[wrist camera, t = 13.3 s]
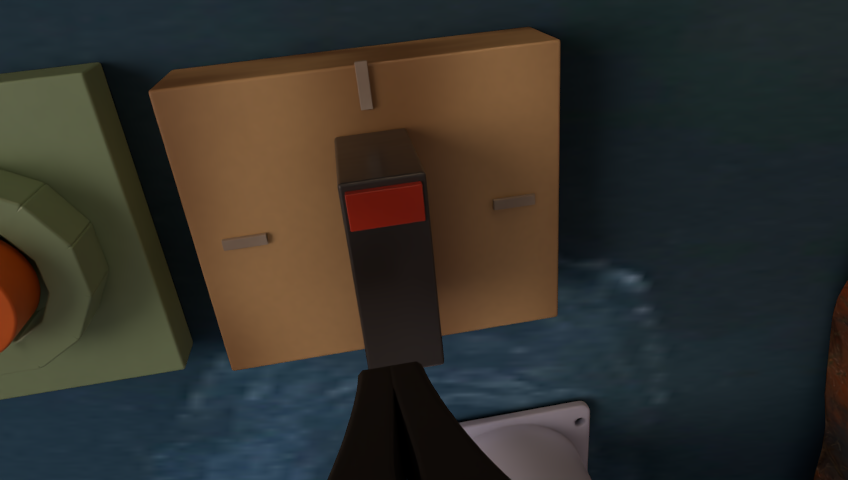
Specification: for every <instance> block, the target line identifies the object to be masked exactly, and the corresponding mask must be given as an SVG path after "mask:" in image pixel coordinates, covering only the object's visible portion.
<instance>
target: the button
mask: <svg viewBox="0 0 848 480" xmlns="http://www.w3.org/2000/svg"><path fill="white" fill-rule="evenodd" d="M39 301H40V284H39V279H38V277H37V274H36V272H35V270H34V268H33V267H32V265H31V264H30V263H29V261H28V260H27V259H26V258H25V257H24V256H23V255H22V254H21V253H20V252H19V251H18V250H16V249H15V248H14V247H12V246H11V245H9V244H7V243H6V242H4V241H2V240H0V353H1V352H3V351H4V350H5V349H6V348H7V347H8V346H9V345H10V344H11V342H12V341H13V340H14V338H15V337H16V336H17V335H18V333H19V332H20V331H21V329H22V328H23V327H24V325H25V324H26V323H27V321H28V320H29V319H30V317H31V316H32V315H33V314H34V312H35V310H36V309H37V307H38V304H39Z"/></svg>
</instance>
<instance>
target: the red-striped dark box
mask: <svg viewBox="0 0 848 480" xmlns="http://www.w3.org/2000/svg"><path fill="white" fill-rule="evenodd" d="M334 144H335V159H336V174H337V188H338V194H339V200H340V206H341V211H342V217H343V223H344V229H345V235H346V241H347V247H348V252H349V258H350V264H351V270H352V276H353V282H354V288H355V293H356V299H357V305H358V311H359V317H360V323H361V328H362V334H363V340H364V346H365V352H366V358H367V364H368V369H374V368H380V367H386V366H391V365H397V364H403V363H409V362H415V361H417V362H419V363H420V364H422V366H423V368H424V367H429V366H435V365H441V364H443V363H444V354H443V344H442V333H441V323H440V313H439V303H438V292H437V282H436V272H435V261H434V251H433V241H432V231H431V220H430V210H429V200H428V189H427V179H426V173H425V171H424V169H423V166H422V164H421V162H420V160H419V157H418V155H417V153H416V151H415V148H414V146H413V144H412V142H411V139H410V137H409V135H408V133H407V130H406V129H405V128H401V129H394V130H386V131H379V132H372V133H364V134H357V135H349V136H342V137H336V138H335V140H334Z"/></svg>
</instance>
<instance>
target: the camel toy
mask: <svg viewBox="0 0 848 480" xmlns="http://www.w3.org/2000/svg"><path fill="white" fill-rule="evenodd" d="M813 480H848V281H847V282H846V284H845V285H844V287H843V289H842V291H841V293H840V294H839V296H838V299H837V302H836V305H835V308H834V312H833V318H832V325H831V335H830V346H829V356H828V365H827V374H826V388H825V433H824V439H823V445H822V450H821V455H820V458H819V461H818V465H817V468H816V472H815V475H814V479H813Z"/></svg>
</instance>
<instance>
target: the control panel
mask: <svg viewBox="0 0 848 480" xmlns="http://www.w3.org/2000/svg"><path fill="white" fill-rule="evenodd" d="M149 96H150V100H151V103H152V106H153V110H154V113H155V116H156V120H157V123H158V126H159V130H160V133H161V136H162V140H163V143H164V146H165V149H166V153H167V156H168V159H169V163H170V166H171V169H172V173H173V176H174V179H175V183H176V186H177V189H178V192H179V196H180V199H181V202H182V206H183V209H184V212H185V216H186V219H187V222H188V226H189V229H190V232H191V235H192V239H193V242H194V245H195V249H196V252H197V255H198V259H199V262H200V265H201V269H202V272H203V275H204V279H205V282H206V285H207V288H208V292H209V295H210V298H211V302H212V305H213V308H214V312H215V315H216V318H217V322H218V325H219V328H220V331H221V335H222V338H223V341H224V345H225V348H226V351H227V355H228V358H229V361H230V365H231V368H232V370H234V371H235V370H241V369H247V368H253V367H259V366H265V365H271V364H277V363H283V362H288V361H294V360H300V359H306V358H312V357H318V356H324V355H330V354H336V353H342V352H348V351H354V350H360V349H365V346H364V340H363V334H362V328H361V323H360V317H359V311H358V305H357V299H356V293H355V288H354V282H353V276H352V270H351V264H350V258H349V252H348V247H347V241H346V235H345V229H344V223H343V217H342V211H341V206H340V200H339V194H338V188H337V174H336V159H335V144H334V140H335V138H336V137H342V136H349V135H357V134H364V133H372V132H379V131H386V130H394V129H401V128H405V129H406V130H407V133H408V135H409V137H410V139H411V142H412V144H413V146H414V148H415V151H416V153H417V155H418V157H419V160H420V162H421V164H422V166H423V169H424V171H425V173H426V179H427V189H428V200H429V210H430V220H431V231H432V241H433V251H434V261H435V272H436V282H437V292H438V303H439V313H440V323H441V333H442V336H443V335H449V334H455V333H461V332H467V331H473V330H479V329H485V328H491V327H497V326H503V325H509V324H515V323H521V322H527V321H533V320H539V319H544V318H550V317H556V316H557V312H558V222H559V131H560V40H559V39H557V38H554V37H552V36H550V35H547V34H545V33H543V32H540V31H538V30H536V29H533V28H531V27H523V28H514V29H506V30H498V31H490V32H481V33H473V34H465V35H457V36H449V37H440V38H432V39H424V40H416V41H407V42H399V43H391V44H383V45H375V46H366V47H358V48H350V49H342V50H333V51H325V52H317V53H309V54H301V55H292V56H284V57H276V58H268V59H259V60H251V61H243V62H235V63H227V64H218V65H210V66H202V67H194V68H185V69H177V70H172V71H171V72H169V73H168V74H167V75H166V76H165V77H164V78H163V79H162V80H160V81H159V82H158V83H157V84H156V85H155V86H154V87H153V88H151V89H150V90H149Z"/></svg>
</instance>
